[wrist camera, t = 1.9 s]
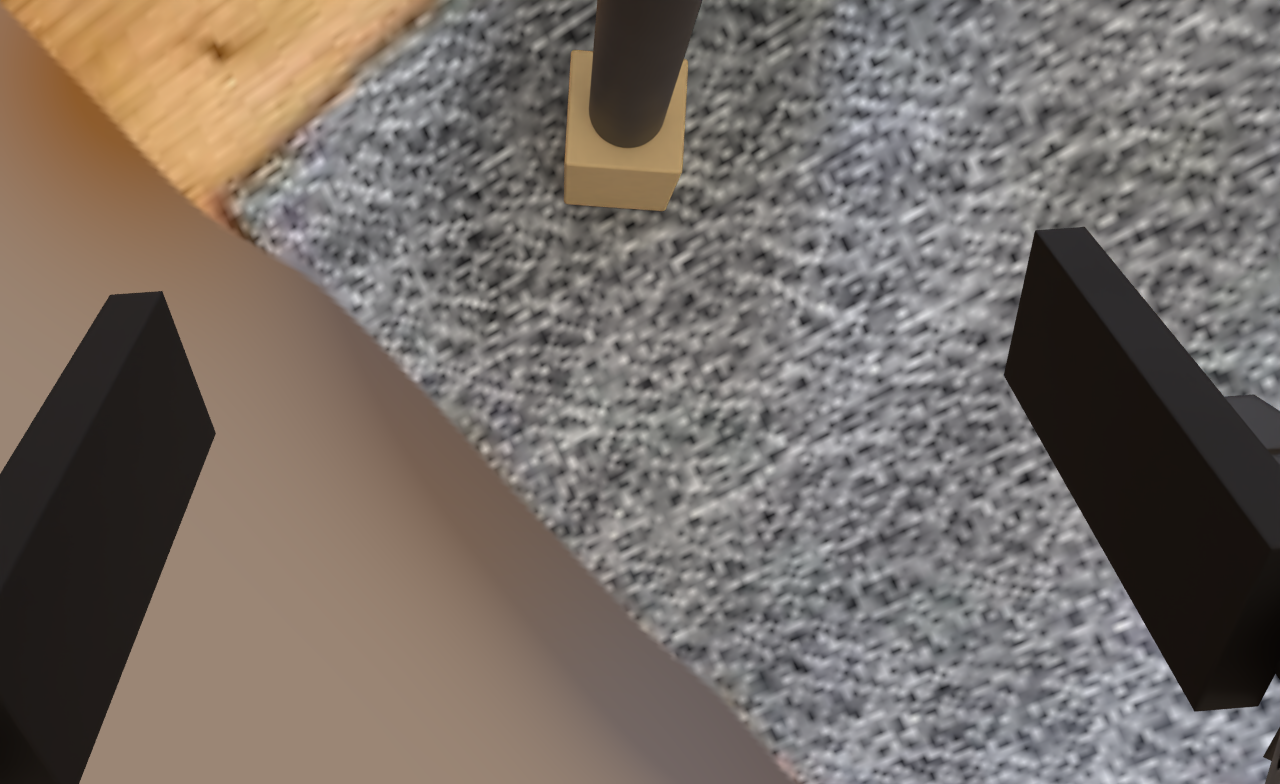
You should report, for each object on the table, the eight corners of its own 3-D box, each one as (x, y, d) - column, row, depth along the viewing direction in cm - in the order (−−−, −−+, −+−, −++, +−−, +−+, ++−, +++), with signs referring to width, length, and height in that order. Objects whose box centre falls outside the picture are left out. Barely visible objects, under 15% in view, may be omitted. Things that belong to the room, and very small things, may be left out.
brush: (563, 204, 35) (566, 5, 19) (570, 104, 35) (576, -177, 19) (665, 212, 35) (750, 20, 19) (670, 112, 35) (759, -159, 20)
